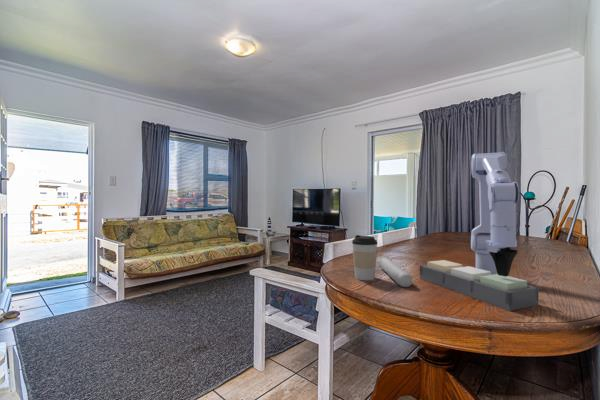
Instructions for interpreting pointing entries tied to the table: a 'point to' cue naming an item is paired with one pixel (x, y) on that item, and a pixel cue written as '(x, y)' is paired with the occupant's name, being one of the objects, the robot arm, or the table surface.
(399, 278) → the tube
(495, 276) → the sage key
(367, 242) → the coffee cup
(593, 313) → the table surface
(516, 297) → the grey button box
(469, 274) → the middle key
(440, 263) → the sand key
